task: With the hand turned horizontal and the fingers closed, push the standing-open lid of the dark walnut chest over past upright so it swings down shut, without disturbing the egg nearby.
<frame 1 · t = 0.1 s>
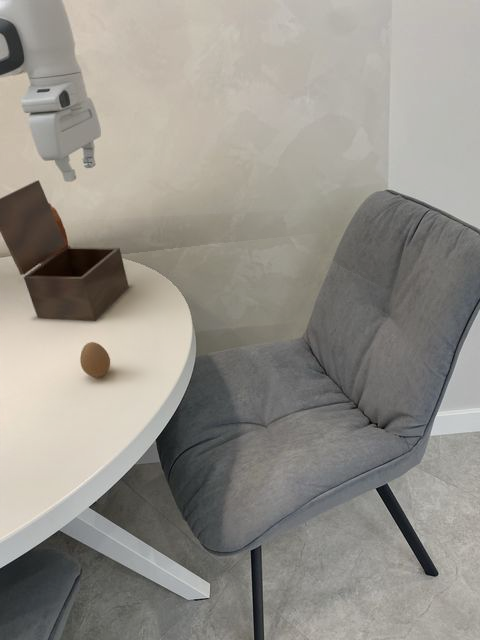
hand: (81, 173, 103), 24 cm above the table, tool pointing down, fingers open, 8 cm apart
chest: (85, 302, 111), on the table
egg: (99, 376, 87), on the table
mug: (60, 268, 128), on the table
chest lid: (30, 226, 104), point 16 cm above the table, hinge at 98.0°
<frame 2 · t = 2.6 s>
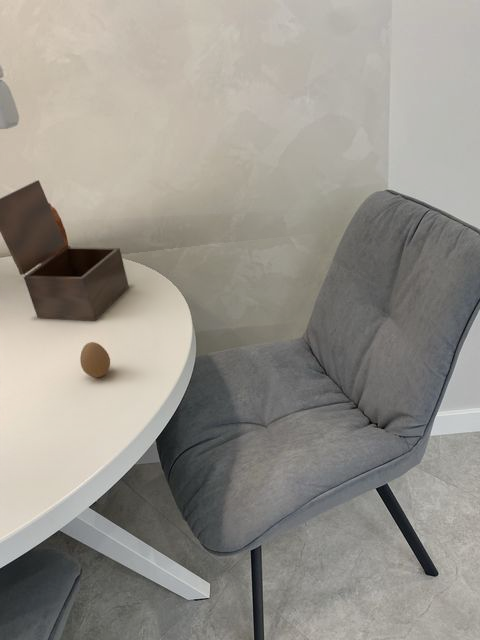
nothing on the table moved.
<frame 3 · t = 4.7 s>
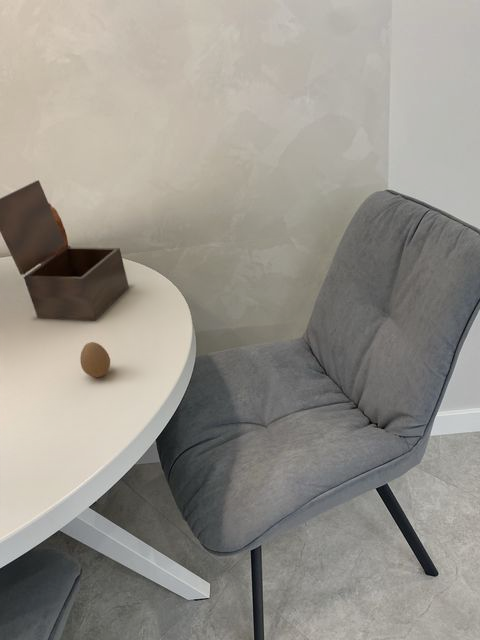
nothing on the table moved.
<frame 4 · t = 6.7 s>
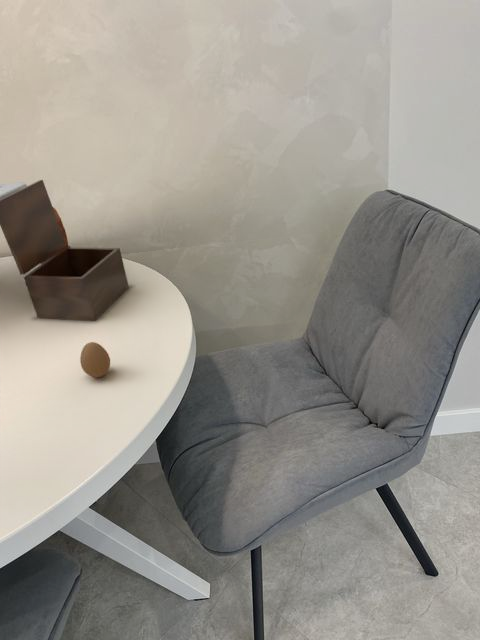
hand: (20, 206, 102), 20 cm above the table, tool horizontal, fingers closed
chest lid: (32, 226, 104), point 16 cm above the table, hinge at 94.2°, touching gripper
everything else where it was.
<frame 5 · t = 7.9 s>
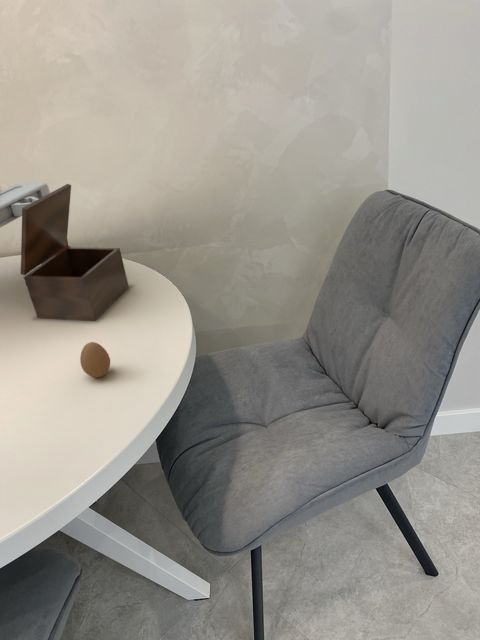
hand: (42, 206, 101), 20 cm above the table, tool horizontal, fingers closed
chest lid: (46, 228, 104), point 16 cm above the table, hinge at 67.9°
everything else where it was.
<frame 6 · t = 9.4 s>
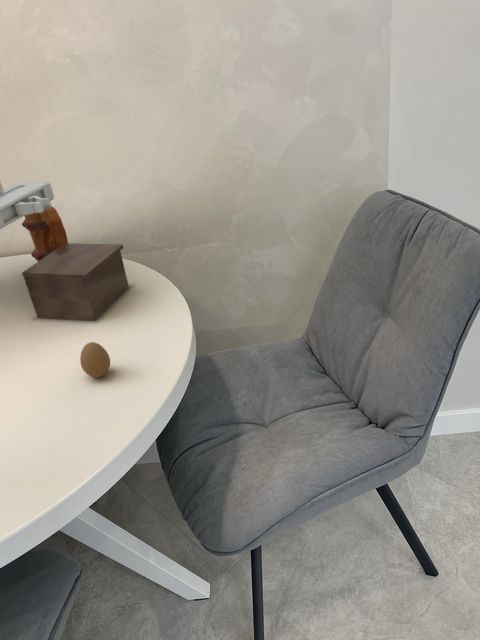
hand: (46, 205, 101), 20 cm above the table, tool horizontal, fingers closed
chest lid: (74, 259, 106), point 9 cm above the table, hinge at -0.2°
everything else where it was.
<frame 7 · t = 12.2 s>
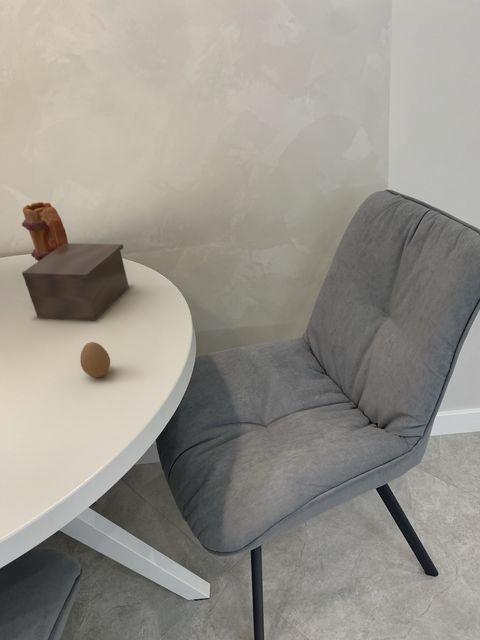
nothing on the table moved.
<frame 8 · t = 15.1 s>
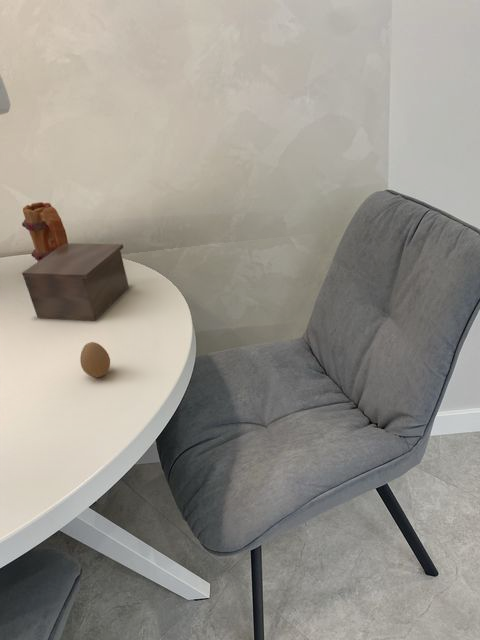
nothing on the table moved.
at the end: chest lid at +0° (first picture: +98°); egg moved 0.2 cm from its start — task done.
